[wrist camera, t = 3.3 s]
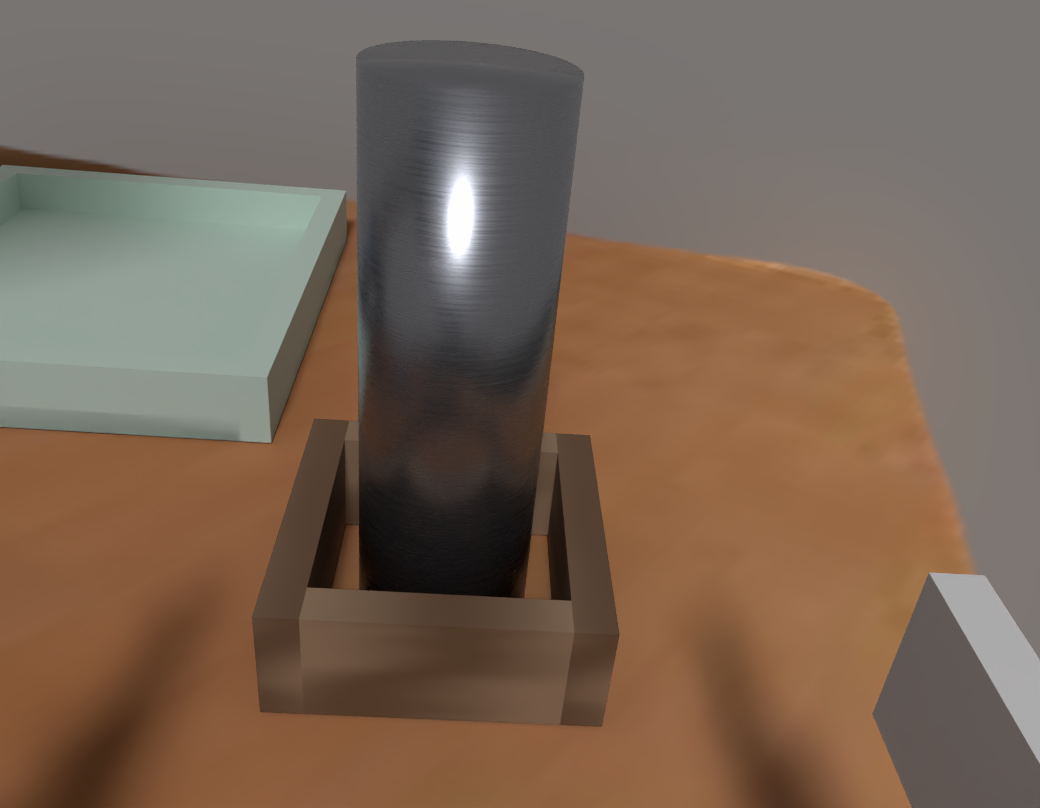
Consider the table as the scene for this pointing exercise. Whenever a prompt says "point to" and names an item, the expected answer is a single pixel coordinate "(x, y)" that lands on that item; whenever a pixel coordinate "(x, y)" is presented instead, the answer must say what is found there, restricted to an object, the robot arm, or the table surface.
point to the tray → (158, 300)
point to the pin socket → (436, 611)
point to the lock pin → (457, 305)
